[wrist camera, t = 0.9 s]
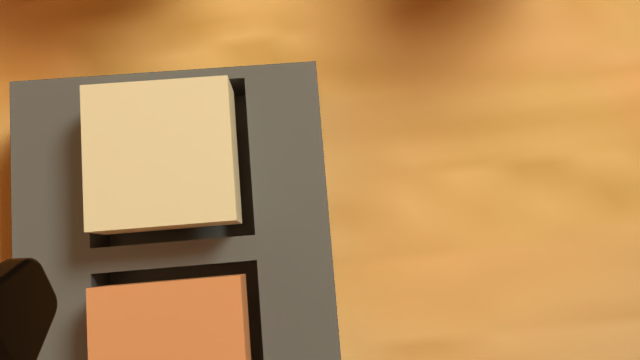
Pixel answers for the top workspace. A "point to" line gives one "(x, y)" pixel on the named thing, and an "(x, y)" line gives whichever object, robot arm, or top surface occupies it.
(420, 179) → the top surface
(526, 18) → the top surface
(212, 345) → the terracotta key
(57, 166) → the button panel
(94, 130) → the sand key
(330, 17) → the top surface
